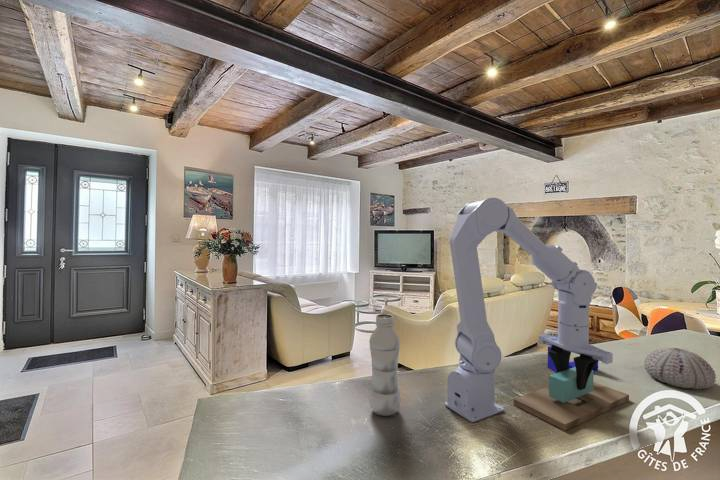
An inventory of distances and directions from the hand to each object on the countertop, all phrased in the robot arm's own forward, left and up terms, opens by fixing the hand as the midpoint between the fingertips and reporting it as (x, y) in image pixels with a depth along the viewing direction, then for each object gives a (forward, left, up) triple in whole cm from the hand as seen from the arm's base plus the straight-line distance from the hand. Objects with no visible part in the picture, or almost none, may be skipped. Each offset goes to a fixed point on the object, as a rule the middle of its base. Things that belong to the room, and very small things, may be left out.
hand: (572, 385), depth 74 cm
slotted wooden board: (0, 0, -4) cm, 4 cm away
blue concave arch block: (+18, +10, -4) cm, 21 cm away
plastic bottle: (-38, +16, -4) cm, 42 cm away
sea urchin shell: (+34, -6, -4) cm, 35 cm away
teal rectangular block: (0, 0, -2) cm, 2 cm away
